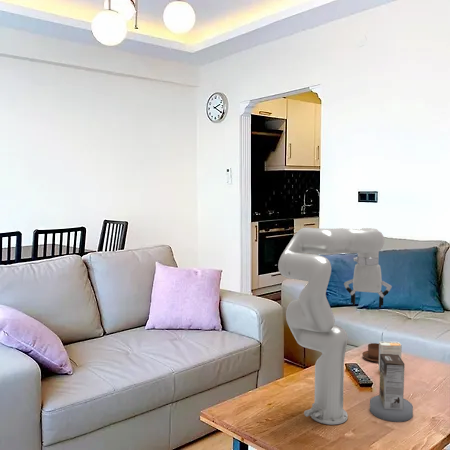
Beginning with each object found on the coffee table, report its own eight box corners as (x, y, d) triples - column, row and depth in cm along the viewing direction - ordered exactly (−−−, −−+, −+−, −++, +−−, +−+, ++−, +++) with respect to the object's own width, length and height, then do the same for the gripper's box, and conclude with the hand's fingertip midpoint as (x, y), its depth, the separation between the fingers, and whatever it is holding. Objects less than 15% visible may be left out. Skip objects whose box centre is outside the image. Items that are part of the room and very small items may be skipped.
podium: (395, 426, 159) (395, 417, 159) (361, 409, 171) (361, 401, 170) (421, 414, 167) (421, 406, 167) (387, 399, 179) (387, 391, 178)
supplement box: (398, 371, 205) (399, 341, 203) (401, 376, 200) (402, 345, 199) (377, 371, 205) (378, 340, 204) (380, 375, 201) (381, 344, 200)
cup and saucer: (372, 352, 228) (372, 339, 228) (395, 359, 219) (395, 346, 218) (356, 358, 221) (357, 345, 220) (380, 366, 211) (380, 352, 211)
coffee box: (378, 397, 173) (379, 353, 172) (397, 398, 173) (398, 353, 171) (383, 409, 164) (385, 362, 163) (403, 410, 164) (405, 363, 162)
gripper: (343, 261, 183) (342, 306, 185) (391, 264, 177) (390, 310, 179) (345, 258, 190) (344, 301, 192) (392, 261, 184) (391, 305, 186)
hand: (366, 306), depth 185 cm, fingers open, 9 cm apart
